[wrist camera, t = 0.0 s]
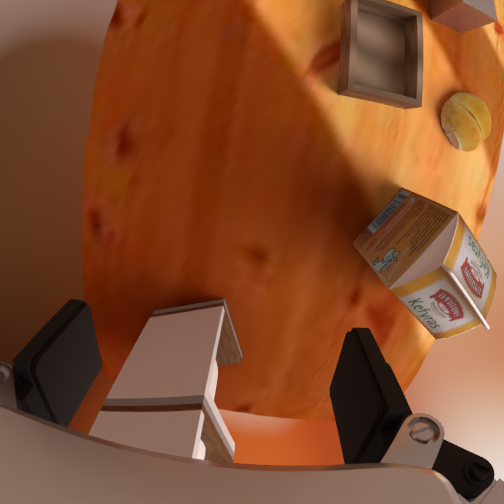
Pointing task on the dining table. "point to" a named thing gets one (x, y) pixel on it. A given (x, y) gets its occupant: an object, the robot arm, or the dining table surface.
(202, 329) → the light grey boxy piece
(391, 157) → the dining table surface
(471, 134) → the bread roll
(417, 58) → the open box
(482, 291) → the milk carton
